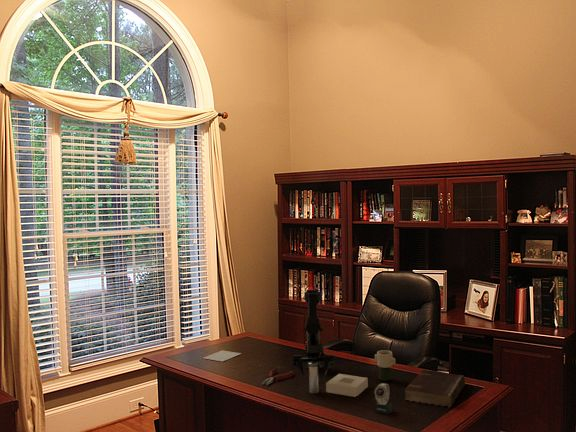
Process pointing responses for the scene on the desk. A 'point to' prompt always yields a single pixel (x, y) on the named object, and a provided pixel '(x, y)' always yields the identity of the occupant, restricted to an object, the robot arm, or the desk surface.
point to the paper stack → (222, 355)
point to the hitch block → (347, 385)
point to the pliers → (276, 377)
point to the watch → (382, 399)
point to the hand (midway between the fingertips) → (313, 378)
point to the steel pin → (313, 377)
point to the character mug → (385, 364)
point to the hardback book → (435, 388)
